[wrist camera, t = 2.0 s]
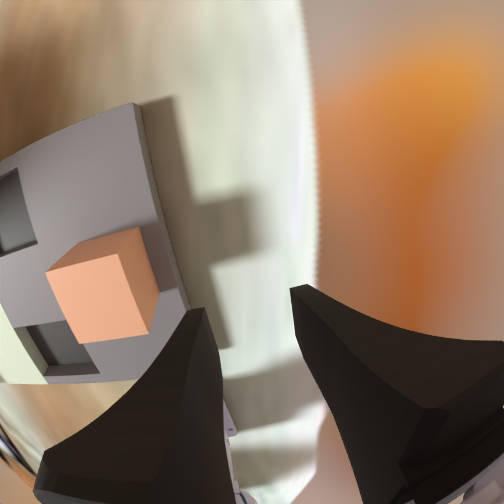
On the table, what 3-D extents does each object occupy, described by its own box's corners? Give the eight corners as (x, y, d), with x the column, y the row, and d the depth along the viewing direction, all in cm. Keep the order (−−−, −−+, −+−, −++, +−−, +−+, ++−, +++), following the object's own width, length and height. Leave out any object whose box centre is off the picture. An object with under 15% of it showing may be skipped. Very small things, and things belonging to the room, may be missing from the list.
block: (160, 292, 18) (148, 333, 14) (101, 304, 18) (79, 343, 13) (138, 226, 16) (117, 253, 12) (77, 243, 16) (44, 272, 12)
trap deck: (206, 353, 22) (207, 385, 19) (-1, 371, 21) (-14, 392, 17) (140, 106, 15) (123, 97, 12) (-69, 216, 14) (-92, 227, 10)
